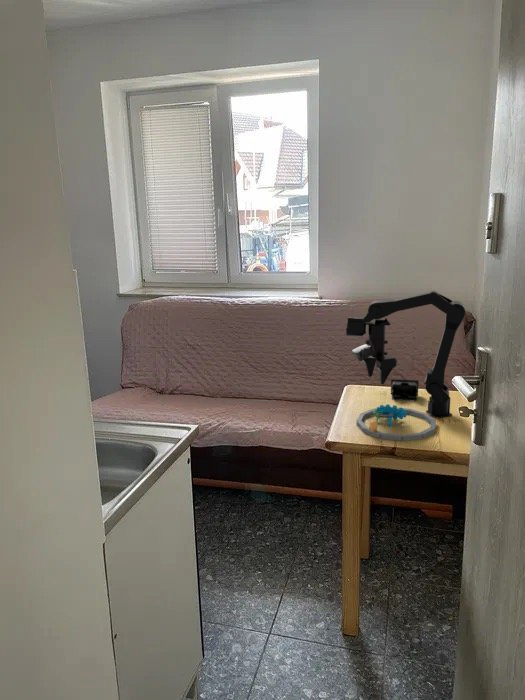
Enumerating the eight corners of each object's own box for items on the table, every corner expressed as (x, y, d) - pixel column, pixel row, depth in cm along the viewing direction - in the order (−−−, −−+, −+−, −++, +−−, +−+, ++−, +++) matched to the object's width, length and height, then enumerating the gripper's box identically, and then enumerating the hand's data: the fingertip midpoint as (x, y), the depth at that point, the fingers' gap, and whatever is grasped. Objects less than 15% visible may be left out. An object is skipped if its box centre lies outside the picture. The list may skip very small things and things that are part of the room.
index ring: (389, 406, 196) (389, 394, 195) (450, 425, 177) (451, 412, 176) (341, 424, 180) (341, 412, 179) (403, 447, 162) (404, 434, 160)
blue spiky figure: (410, 416, 182) (402, 402, 174) (408, 432, 179) (400, 419, 172) (378, 415, 187) (369, 402, 180) (376, 431, 185) (367, 418, 177)
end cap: (417, 394, 207) (418, 378, 205) (418, 401, 200) (418, 383, 199) (390, 393, 210) (391, 376, 208) (390, 399, 203) (390, 382, 201)
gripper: (344, 334, 193) (343, 375, 197) (368, 345, 176) (367, 390, 180) (372, 331, 196) (371, 372, 200) (398, 342, 179) (397, 386, 183)
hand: (376, 380), depth 191 cm, fingers open, 9 cm apart
